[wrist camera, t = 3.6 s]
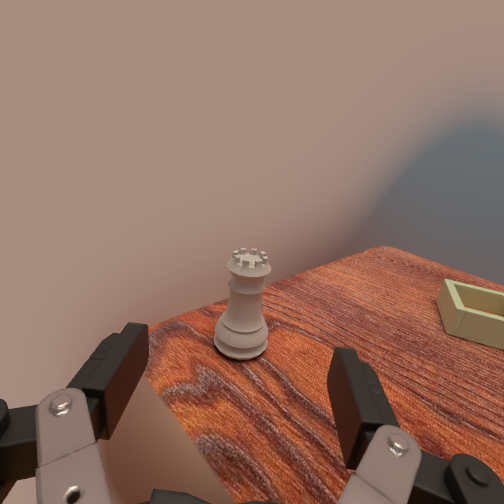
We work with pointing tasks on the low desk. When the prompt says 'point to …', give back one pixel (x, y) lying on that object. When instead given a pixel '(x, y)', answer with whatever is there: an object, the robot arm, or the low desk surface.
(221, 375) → the low desk surface
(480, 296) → the socket pad
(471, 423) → the low desk surface
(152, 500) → the robot arm
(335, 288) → the low desk surface
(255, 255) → the rook chess piece
